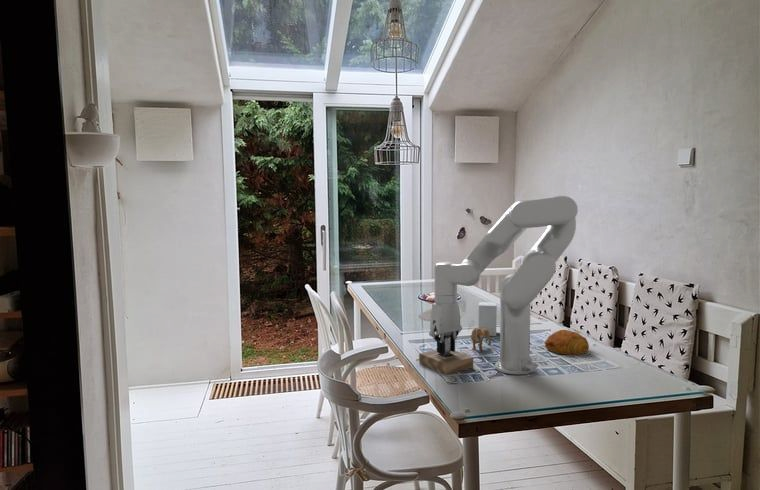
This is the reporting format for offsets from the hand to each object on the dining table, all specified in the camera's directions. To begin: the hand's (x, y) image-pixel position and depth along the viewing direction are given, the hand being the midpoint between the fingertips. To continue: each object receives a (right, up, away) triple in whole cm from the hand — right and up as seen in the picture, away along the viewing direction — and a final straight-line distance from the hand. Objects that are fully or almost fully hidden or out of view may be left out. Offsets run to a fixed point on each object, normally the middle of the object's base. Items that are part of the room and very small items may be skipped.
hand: (445, 351), depth 174 cm
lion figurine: (+16, -3, +19) cm, 25 cm away
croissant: (+46, -3, +16) cm, 49 cm away
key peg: (0, -5, +1) cm, 5 cm away
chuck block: (0, -5, 0) cm, 5 cm away
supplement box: (+22, -1, +39) cm, 45 cm away
